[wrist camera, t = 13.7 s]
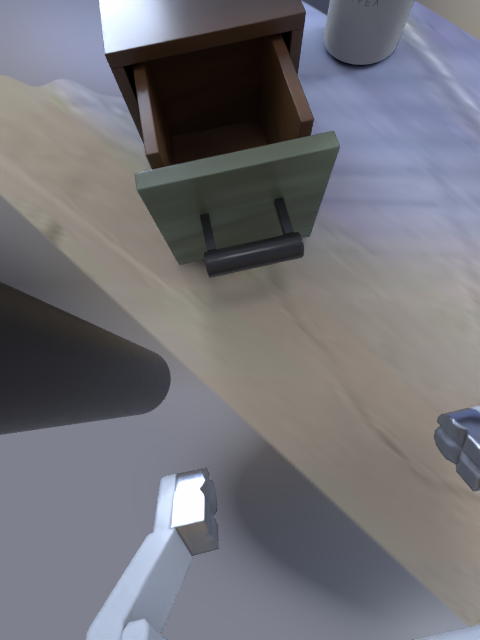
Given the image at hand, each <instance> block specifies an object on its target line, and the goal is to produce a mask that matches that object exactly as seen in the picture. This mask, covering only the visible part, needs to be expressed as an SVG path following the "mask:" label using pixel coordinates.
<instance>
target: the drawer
mask: <svg viewBox="0 0 480 640" xmlns="http://www.w3.org/2000/svg"><path fill="white" fill-rule="evenodd" d="M132 65H133V72H134V79H135V85H136V92H137V99H138V106H139V113H140V120H141V126H142V133H143V140H144V147H145V154H146V157H147V159H148V161H149V164H150V166H151V168H152V170H148V171H144V172H139V173H135V179H136V187H137V191H138V193H139V195H140V196H141V198H142V200H143V202H144V203H145V205H146V207H147V209H148V210H149V212H150V214H151V216H152V218H153V219H154V221H155V223H156V225H157V226H158V228H159V230H160V232H161V233H162V235H163V237H164V239H165V240H166V242H167V244H168V246H169V248H170V249H171V251H172V253H173V255H174V256H175V258H176V260H177V262H178V263H179V265H181V264H186V263H190V262H195V261H199V260H204V259H205V264H206V268H207V272H208V275H209V277H215V276H220V275H224V274H229V273H233V272H238V271H243V270H247V269H252V268H256V267H261V266H266V265H270V264H275V263H279V262H284V261H288V260H293V259H298V258H302V257H303V255H304V244H303V240H302V238H305V237H309V236H310V234H311V231H312V228H313V225H314V222H315V219H316V216H317V213H318V210H319V207H320V204H321V202H322V199H323V196H324V193H325V190H326V187H327V184H328V181H329V178H330V175H331V172H332V169H333V166H334V163H335V160H336V157H337V154H338V151H339V148H340V145H339V142H338V140H337V137H336V135H335V133H334V131H330V132H326V133H321V134H316V135H312V136H311V131H312V126H313V122H314V118H313V115H312V112H311V110H310V107H309V105H308V102H307V99H306V97H305V94H304V92H303V89H302V86H301V84H300V81H299V79H298V76H297V73H296V71H295V68H294V66H293V63H292V60H291V58H290V55H289V53H288V50H287V47H286V45H285V42H284V39H283V37H282V34H281V33H279V34H274V35H269V36H264V37H260V38H255V39H250V40H245V41H241V42H236V43H231V44H226V45H222V46H217V47H212V48H208V49H203V50H198V51H193V52H189V53H184V54H179V55H174V56H170V57H165V58H160V59H155V60H151V61H146V62H141V63H136V64H132Z"/></svg>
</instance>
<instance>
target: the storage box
mask: <svg viewBox="0 0 480 640" xmlns="http://www.w3.org/2000/svg"><path fill="white" fill-rule="evenodd" d="M99 5H100V15H101V24H102V33H103V42H104V51H105V56H106V59H107V61H108V63H109V66H110V68H111V70H112V73H113V74H114V77H115V79H116V82H117V84H118V86H119V89H120V91H121V93H122V95H123V98H124V100H125V102H126V105H127V107H128V109H129V111H130V114H131V116H132V118H133V121H134V123H135V125H136V127H137V130H138V132H139V134H140V137H141V139H142V141H143V143H144V140H143V133H142V126H141V120H140V113H139V106H138V99H137V92H136V85H135V79H134V72H133V65H132V64H136V63H141V62H146V61H151V60H155V59H160V58H165V57H170V56H174V55H179V54H184V53H189V52H193V51H198V50H203V49H208V48H212V47H217V46H222V45H226V44H231V43H236V42H241V41H245V40H250V39H255V38H260V37H264V36H269V35H274V34H279V33H281V34H282V37H283V39H284V42H285V45H286V47H287V50H288V53H289V55H290V58H291V60H292V63H293V66H294V68H295V71H296V73H297V75H298V68H299V60H300V53H301V45H302V37H303V30H304V29H303V28H304V23H305V15H306V11H305V9H304V7H303V4H302V2H301V0H99Z"/></svg>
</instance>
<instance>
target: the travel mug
mask: <svg viewBox="0 0 480 640" xmlns="http://www.w3.org/2000/svg"><path fill="white" fill-rule="evenodd" d="M414 1H415V0H330V5H329V10H328V15H327V20H326V26H325V31H324V36H323V42H324V46H325V48H326V49H327V51H328V52H329V53H330V54H331V55H332V56H333V57H335V58H336V59H338V60H340V61H342V62H345V63H350V64H354V65H365V64H372V63H376V62H379V61H381V60H383V59H385V58H387V57H388V56H389V55H390V54H392V52H393V51H394V50H395V48H396V46H397V43H398V41H399V38H400V36H401V33H402V31H403V28H404V26H405V23H406V21H407V18H408V16H409V13H410V11H411V8H412V6H413V3H414Z"/></svg>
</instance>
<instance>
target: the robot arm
mask: <svg viewBox="0 0 480 640" xmlns="http://www.w3.org/2000/svg"><path fill="white" fill-rule="evenodd" d="M437 422H438V424H439V425H440V426H439V427H438V428H437V429H436V430H435V433H434V439H435V443H436V446H437V447H438V449H439V451H440V452H441V453H442V455H443V456H444V457H445V458H446V459H447V460H449V461H451V462H453V463H455V464H456V471H457V473H458V474H459V475H460V476H461V477H462V479H463V480H464V481H465V482H466V483H467V484H468V486H469V487H470V488H471V489H472V490H473V491H478V490H480V406H476V407H471V408H465V409H461V410H457V411H453V412H449V413H445V414H441V415H440V416H439V417H438V420H437ZM216 512H217V498H216V491H215V487H214V483H213V481H212V480H210V479H209V471H208V469H207V468H202V469H197V470H193V471H188V472H183V473H179V474H178V473H177V474H173V475H169V476H164V477H162V480H161V482H160V488H159V494H158V501H157V509H156V515H155V521H154V528H153V533H150V534H148V535H147V537H146V539H145V540H144V542H143V543H142V545H141V546H140V548H139V550H138V551H137V553H136V554H135V556H134V557H133V559H132V561H131V562H130V564H129V565H128V567H127V569H126V570H125V572H124V573H123V575H122V577H121V578H120V580H119V581H118V583H117V584H116V586H115V588H114V589H113V591H112V592H111V594H110V596H109V597H108V599H107V600H106V602H105V604H104V605H103V607H102V608H101V610H100V612H99V613H98V615H97V616H96V618H95V620H94V621H93V623H92V624H91V626H90V628H89V629H88V633H87V637H86V640H167V639H166V638H165V637H164V636H162V634H161V633H162V631H163V628H164V626H165V624H166V621H167V619H168V616H169V614H170V612H171V609H172V607H173V605H174V602H175V600H176V597H177V595H178V593H179V590H180V588H181V585H182V583H183V581H184V578H185V576H186V573H187V571H188V569H189V566H190V564H191V561H192V559H193V557H192V556H193V555H198V554H201V553H205V552H209V551H213V550H217V549H219V548H218V525H217V522H216V520H215V518H214V516H215V514H216ZM413 640H480V624H479V625H474V626H470V627H466V628H461V629H457V630H452V631H448V632H444V633H439V634H435V635H431V636H427V637H422V638H418V639H413Z"/></svg>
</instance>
